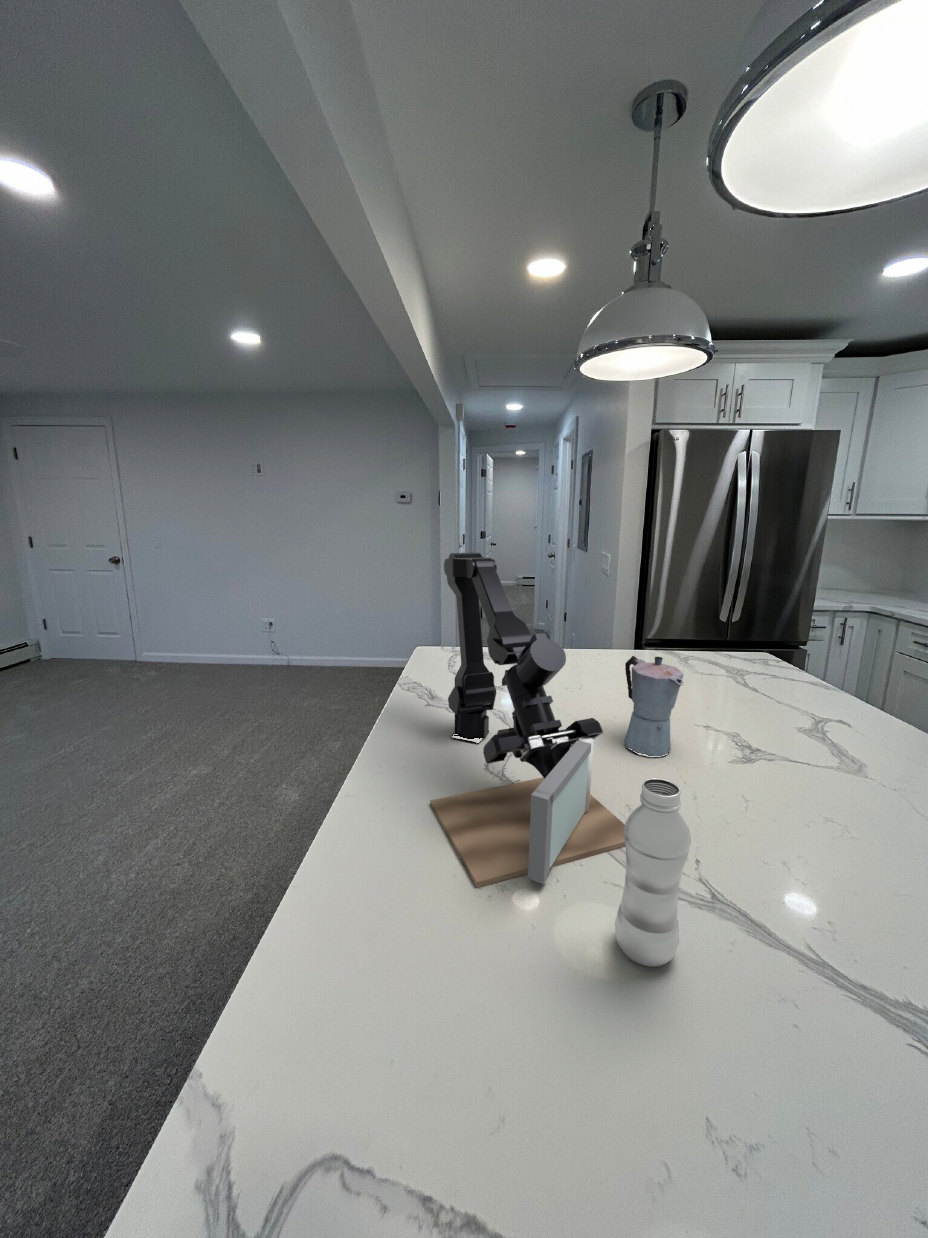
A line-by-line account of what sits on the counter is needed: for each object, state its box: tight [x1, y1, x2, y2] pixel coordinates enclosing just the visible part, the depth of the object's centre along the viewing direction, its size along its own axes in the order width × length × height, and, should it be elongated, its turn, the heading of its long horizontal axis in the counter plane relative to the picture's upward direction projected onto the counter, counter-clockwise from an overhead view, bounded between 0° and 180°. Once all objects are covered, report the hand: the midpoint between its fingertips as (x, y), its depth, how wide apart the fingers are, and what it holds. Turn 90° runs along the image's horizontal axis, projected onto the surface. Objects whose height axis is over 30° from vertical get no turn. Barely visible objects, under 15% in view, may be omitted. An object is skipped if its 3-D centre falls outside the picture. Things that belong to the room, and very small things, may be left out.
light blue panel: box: [527, 736, 595, 885], centre depth 72 cm, size 20×2×12 cm, turn 149°
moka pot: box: [624, 655, 685, 756], centre depth 102 cm, size 10×15×20 cm, turn 27°
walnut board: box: [429, 776, 625, 888], centre depth 78 cm, size 20×26×1 cm
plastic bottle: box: [614, 777, 692, 968], centre depth 54 cm, size 6×7×20 cm
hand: (561, 795), depth 75 cm, fingers closed
